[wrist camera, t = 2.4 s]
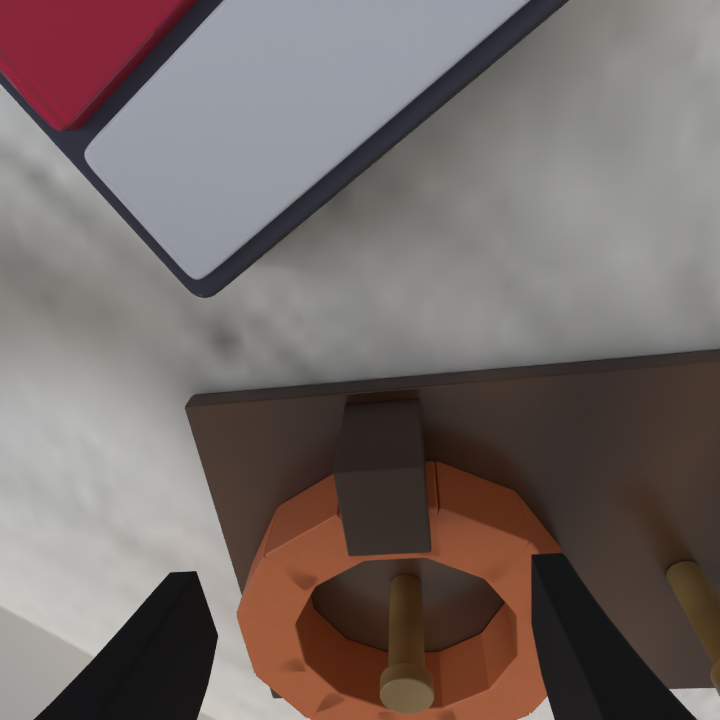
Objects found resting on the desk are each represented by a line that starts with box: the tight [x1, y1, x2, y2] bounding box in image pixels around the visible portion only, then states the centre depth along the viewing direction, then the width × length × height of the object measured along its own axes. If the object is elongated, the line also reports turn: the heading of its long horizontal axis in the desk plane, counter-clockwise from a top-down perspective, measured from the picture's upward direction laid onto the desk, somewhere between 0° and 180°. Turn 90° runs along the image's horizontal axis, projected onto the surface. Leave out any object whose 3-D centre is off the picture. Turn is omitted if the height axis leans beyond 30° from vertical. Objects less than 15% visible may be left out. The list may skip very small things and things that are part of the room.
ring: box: [237, 399, 562, 720], centre depth 20 cm, size 11×14×4 cm
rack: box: [185, 350, 720, 714], centre depth 19 cm, size 23×15×5 cm, turn 97°
